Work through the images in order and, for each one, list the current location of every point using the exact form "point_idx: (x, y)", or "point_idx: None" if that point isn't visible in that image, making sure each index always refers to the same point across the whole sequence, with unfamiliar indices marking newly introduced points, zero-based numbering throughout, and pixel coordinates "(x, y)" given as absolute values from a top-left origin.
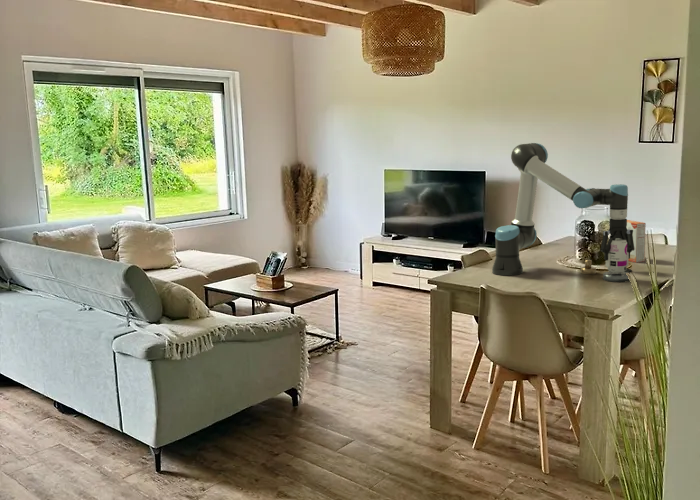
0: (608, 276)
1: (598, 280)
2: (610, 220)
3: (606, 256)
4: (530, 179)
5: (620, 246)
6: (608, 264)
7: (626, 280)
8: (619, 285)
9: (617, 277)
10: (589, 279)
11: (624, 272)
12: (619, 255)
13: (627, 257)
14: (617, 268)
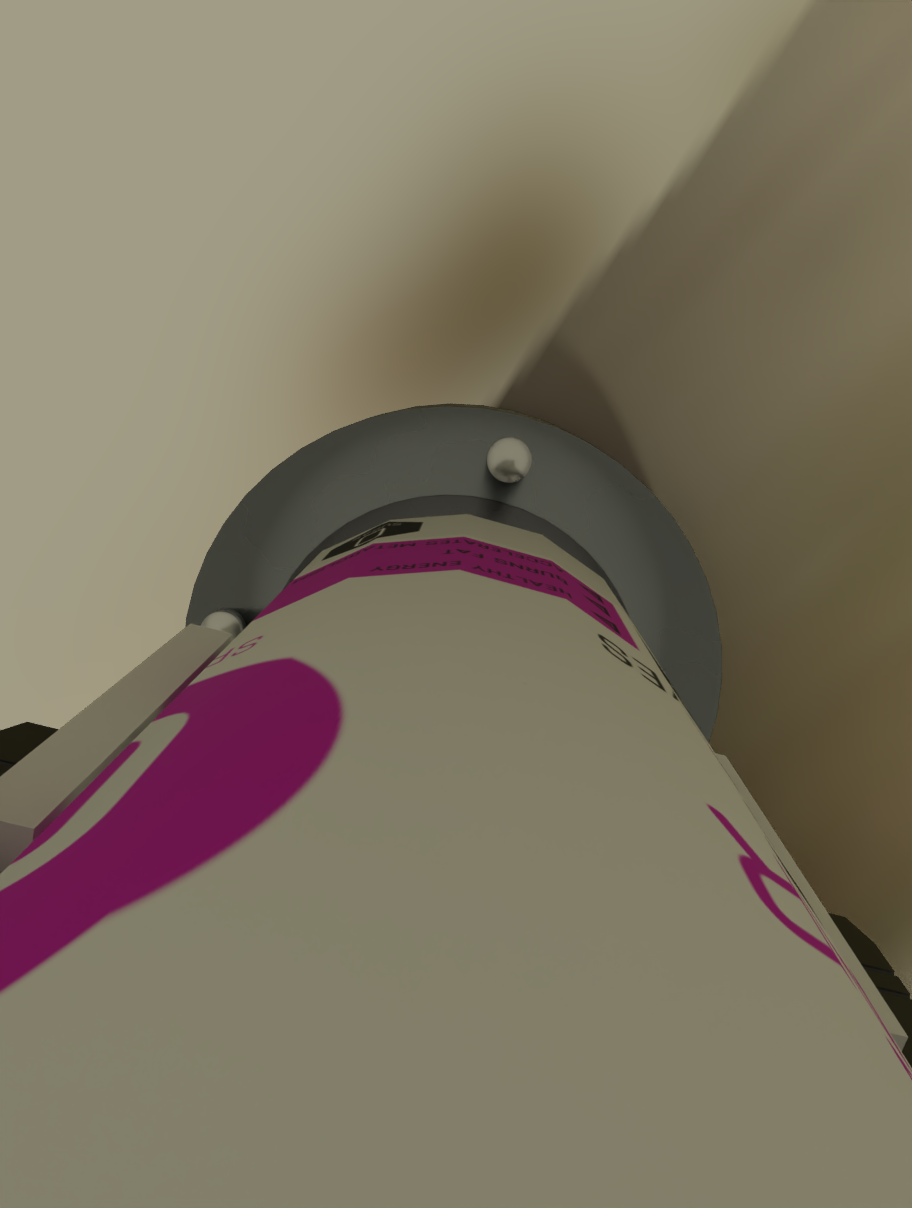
0: (718, 634)
1: (778, 744)
2: None
3: (895, 1011)
4: None
5: (705, 975)
6: (749, 800)
7: (448, 404)
8: (794, 227)
9: (632, 475)
10: (840, 873)
11: None
12: (620, 690)
13: (112, 727)
14: (598, 581)
